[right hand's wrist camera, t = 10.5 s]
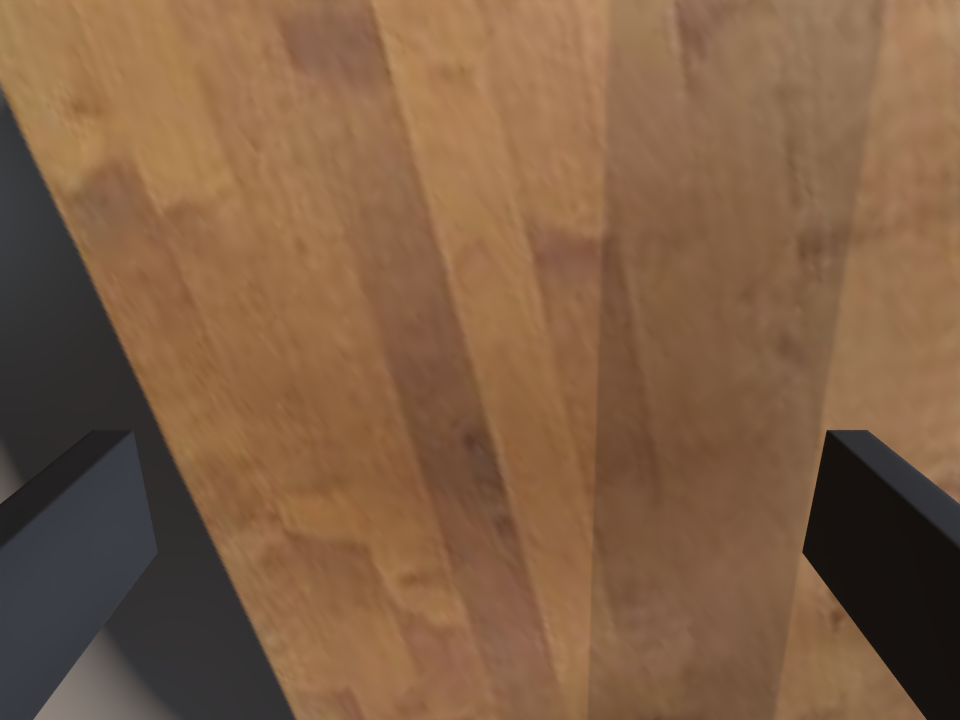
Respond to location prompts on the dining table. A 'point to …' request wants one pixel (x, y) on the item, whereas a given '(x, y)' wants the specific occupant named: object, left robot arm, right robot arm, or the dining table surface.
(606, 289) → the dining table surface
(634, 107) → the dining table surface
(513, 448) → the dining table surface
